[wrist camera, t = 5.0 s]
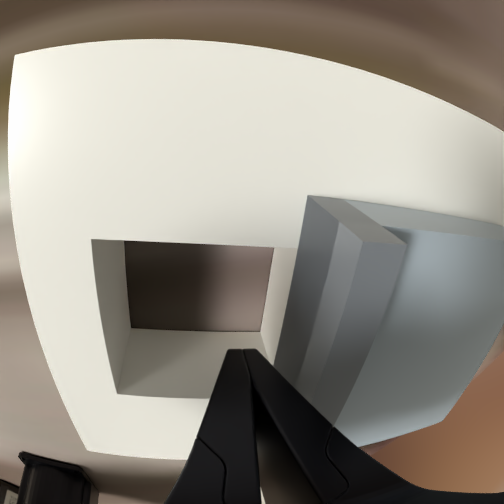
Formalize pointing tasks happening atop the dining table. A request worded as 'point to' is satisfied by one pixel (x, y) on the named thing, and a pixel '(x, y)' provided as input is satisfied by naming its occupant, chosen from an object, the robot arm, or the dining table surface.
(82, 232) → the socket block
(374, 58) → the dining table surface
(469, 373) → the panel
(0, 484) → the ink bottle
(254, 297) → the dining table surface
